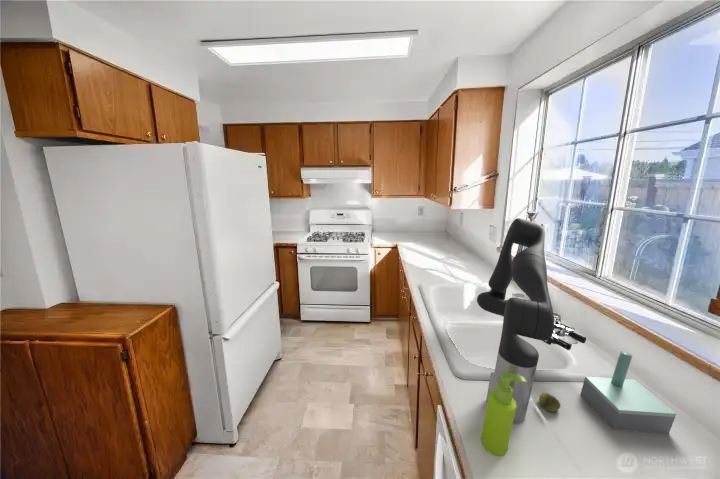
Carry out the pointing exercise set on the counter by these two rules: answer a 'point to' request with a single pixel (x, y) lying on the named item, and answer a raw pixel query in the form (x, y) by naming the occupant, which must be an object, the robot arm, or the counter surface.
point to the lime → (549, 402)
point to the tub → (625, 415)
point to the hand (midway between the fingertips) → (578, 343)
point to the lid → (628, 392)
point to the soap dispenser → (500, 415)
